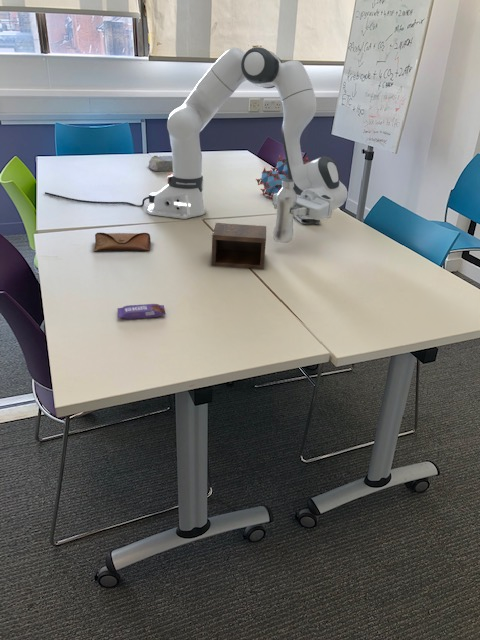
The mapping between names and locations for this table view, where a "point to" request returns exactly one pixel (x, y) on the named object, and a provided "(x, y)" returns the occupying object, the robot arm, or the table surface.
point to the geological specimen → (161, 163)
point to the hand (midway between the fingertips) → (284, 209)
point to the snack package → (141, 311)
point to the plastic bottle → (285, 212)
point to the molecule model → (275, 177)
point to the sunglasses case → (122, 242)
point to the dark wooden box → (238, 245)
